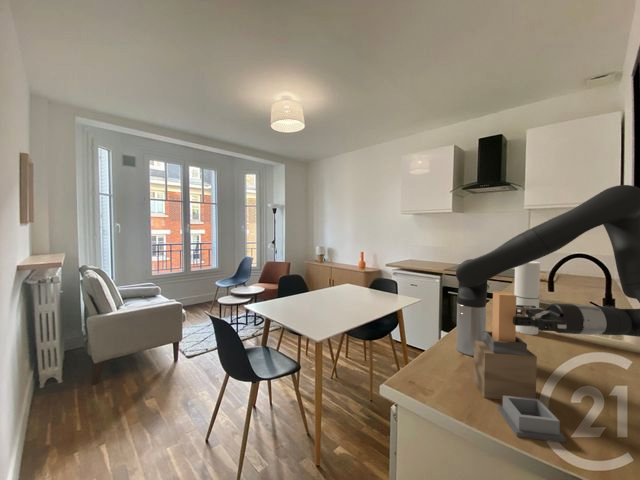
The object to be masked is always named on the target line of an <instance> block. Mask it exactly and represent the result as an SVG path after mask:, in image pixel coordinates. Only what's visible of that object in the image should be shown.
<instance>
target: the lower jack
mask: <svg viewBox="0 0 640 480" xmlns="http://www.w3.org/2000/svg"><path fill="white" fill-rule="evenodd" d="M497 410H498V412H499V413H500V414H501V416H502V417H503V418H504V420H505V422H506V423H507V425H508V426H509V428H510V429H511V430H512V431H513V433H514V435H515V436H516V437H518V438H523V439H525V438H527V439H534V440H543V441H548V440H550V441H551V442H556V441H558V443H566V437H565V436H564V434H562V433H561V432H560V429H561V428H560V426H561V425H560V423H561V422H560V420H559V419H558V417H556V415H554V414H553V413H552V411H551V410H550V409H549V408H548V407H547V406H546V405H545V404H544V403H543V402H542V401H541V400H540V399H539V398H536V399H533V398H523V397H513V396H503V399H502V405H497Z"/></svg>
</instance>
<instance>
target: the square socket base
mask: <svg viewBox="0 0 640 480" xmlns="http://www.w3.org/2000/svg"><path fill="white" fill-rule="evenodd" d="M537 358H538V356H537V355H535V354H534V353H533V352H531V351H530V350H529V349H528V344H527V343H526V342H525V341H524V340H522V339H521V338H520V337H518V336H517V335H516V337H515V342H505V341H496V340H495V339H494V338H492V331H490V330H489V331H487V330H486V331H483V340H482V341H474V356H473V370H472V371H473V372H472V373H473V374H472V377H473V378H472V381H473V383H474V384H475V386H476V387H477V389H478V390H479V392H480V394H481V395H482V397H483V398H486V399H494V400H495V399H497V400H503V396H513V397H523V398H533V399H537V396H536V395H537V367H538V366H537V364H538V363H537V361H538V360H537Z"/></svg>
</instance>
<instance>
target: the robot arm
mask: <svg viewBox="0 0 640 480" xmlns="http://www.w3.org/2000/svg"><path fill="white" fill-rule="evenodd" d="M602 225H603V227H604V229H605V231H606V234H607V236H608V237H609V238H608V239H609V241H610V243H611V247H612V250H613V255H614V260H615V266H616V270H617V271H616V272H617V275H618V279H619V282H620V286H621V289H622V293H623V294H624V296H626V297H627V298H630V299H635V300H637V301H638V302H639V304H640V187H637V186H634V185H631V184H630V185H629V184H621V185H619V184H618V185H615V186H612V187H608V188H606V189H604V190H602V191H600V192H599V193H597V194H596V195H594V196H592V197H590V198H589V199H588V200H586V201H584V202H582V203H581V204H579V205H577V206H576V207H574V208H572V209H570V210H568V211H566V212H564V213H561V214H559V215H557V216H555V217H552V218H551V219H548V220H547V221H544V222H542V223H540V224H538V225H535V226H534V227H532V228H528V229H527V230H525V231H524V232H521V233H519V234H517V235H516V236H514V237H512V238H510V239H508V240H507V241H505V242H504V243H503V244H501V245H500V246H498V247H496V248H495V249H493V250H491V251H490V252H487V253H486V254H483V255H480V256H478V257H475V258H471V259H470V258H469V259H466V260H464V261H462V262H461V263H460V264H459V265H458V266H457V268H456V271H455V276H456V280H457V281H458V289H457V296H456V341H455V342H456V350H457V351H458V352H460V353H461V354H464V355H467V356H471V357H474V341H482V340H483V331H487V329H486V328H487V296H488V280H490V279H492V278H494V277H496V276H497V275H501V274H502V273H503V272H506V271H508V270H512V269H515V267H518V266H521V265H523V264H526V263H529V262H531V261H534V262H535V261H536V260H539V259H542V258H543V257H547V256H548V255H550V254H552V253H555V252H557V251H558V250H560V249H563V248H564V247H565V246H567V245H568V244H570V243H572V242H573V241H574V240H576V239H577V238H579V237H580V236H582V235H583V234H585V233H586V232H588V231H590V230H593V229H595V228H597V227H599V226H602ZM518 310H521V311H520V312H518ZM526 315H528V317H527V316H526ZM513 324H514V325H516V326H531V327H533V328H538V331H539V332H555V333H556V334H557V333H558V334H571V335H585V336H587V335H588V336H590V335H591V336H592V335H602V336H603V335H604V336H605V335H606V336H629V337H637V338H640V308H618V307H614V306H601V305H599V306H598V305H588V304H581V303H579V304H578V303H577V304H576V303H573V304H572V303H556V302H555V303H551V304H549V305H548V306H547V308H546V309H544V308H541V307H539V308H536V306H527V305H516V316H514V317H513Z"/></svg>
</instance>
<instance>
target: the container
mask: <svg viewBox="0 0 640 480" xmlns="http://www.w3.org/2000/svg"><path fill="white" fill-rule="evenodd" d="M540 284H541V262H540V261H535V260H534V261H531V262H529V263H526V264H523V265H521V266H518V267H515V268H514V290H513V291H514V292H513V294H514V295H516V305H527V306H536V308H540V291H541V290H540V288H541V287H540ZM520 311H521V310H518V312H520ZM526 316H527V317H528V315H526ZM519 332H520V334H523V335H531V336H534V335H539V330H538V328H533V327H531V326H516V333H519Z"/></svg>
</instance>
